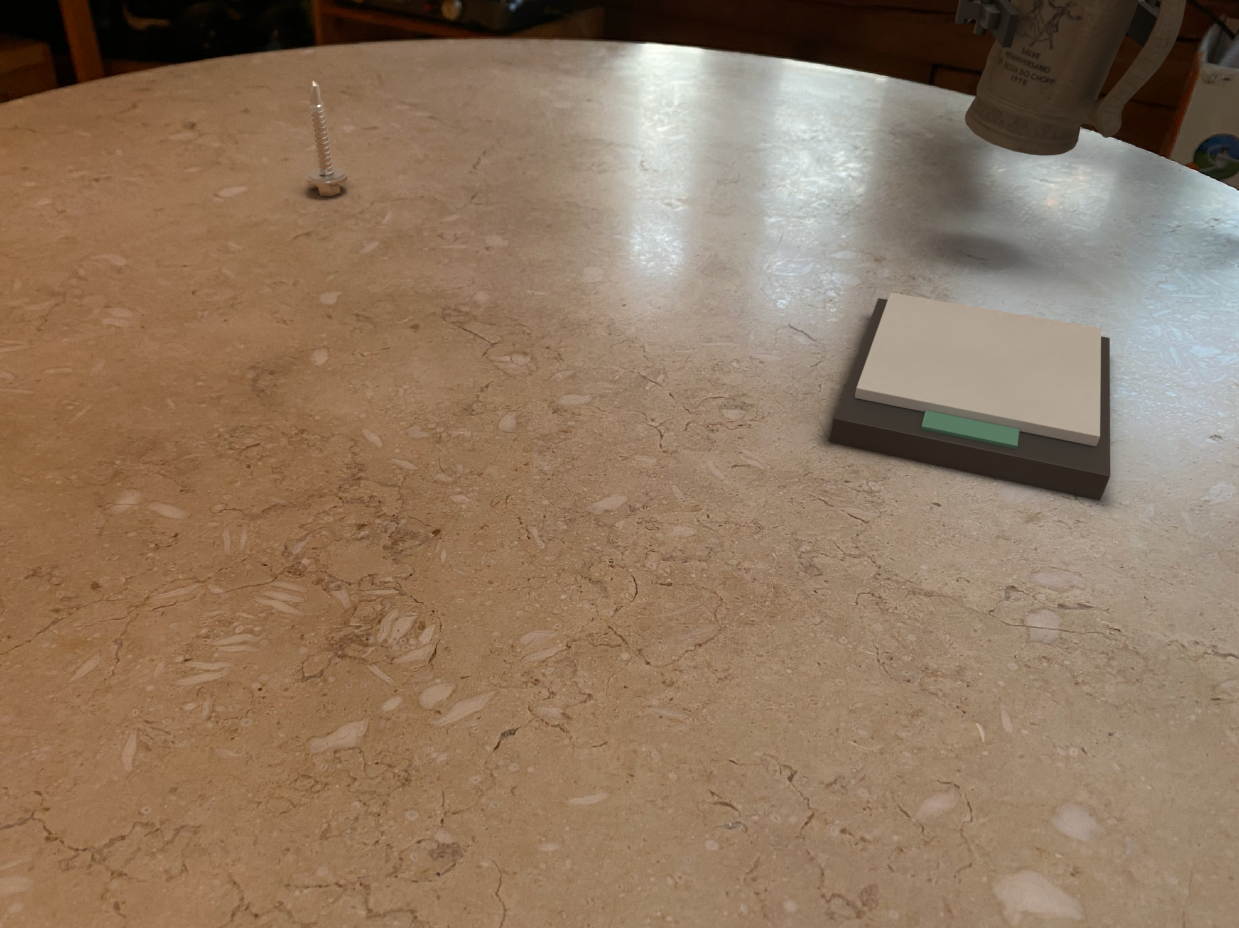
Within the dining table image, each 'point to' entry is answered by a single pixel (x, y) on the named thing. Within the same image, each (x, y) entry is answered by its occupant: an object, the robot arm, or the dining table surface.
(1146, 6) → the robot arm
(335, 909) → the dining table surface
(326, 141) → the screw
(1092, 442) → the scale
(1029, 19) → the beer stein
